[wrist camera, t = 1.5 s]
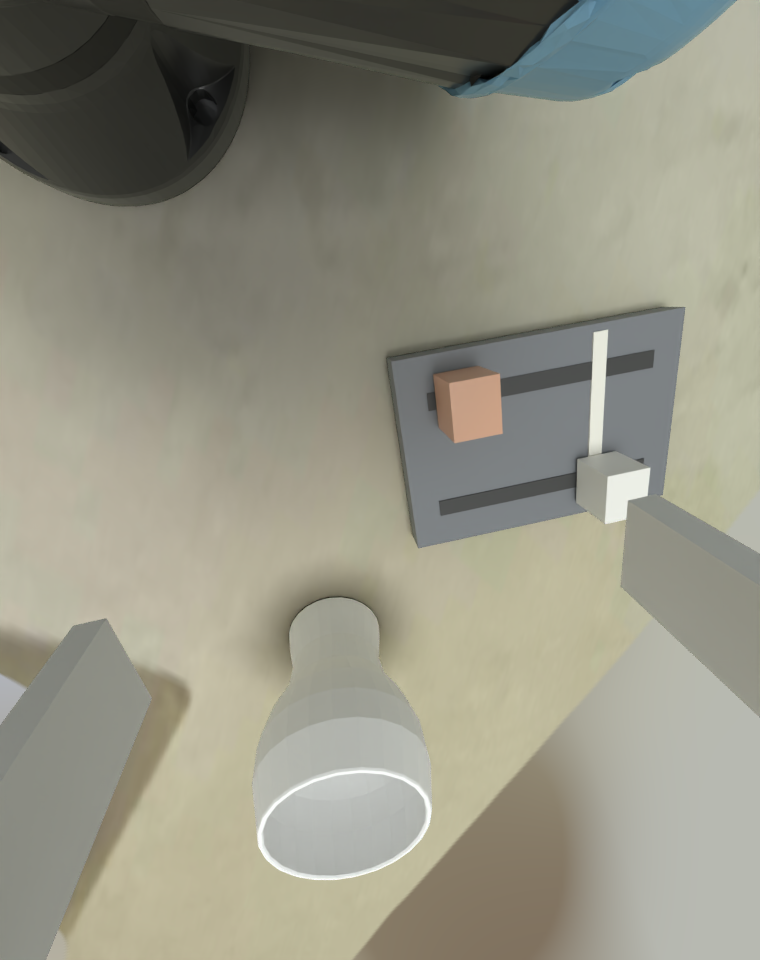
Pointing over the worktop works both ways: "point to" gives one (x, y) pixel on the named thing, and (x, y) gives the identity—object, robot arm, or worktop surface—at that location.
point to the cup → (340, 754)
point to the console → (537, 420)
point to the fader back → (610, 484)
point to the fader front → (468, 403)
